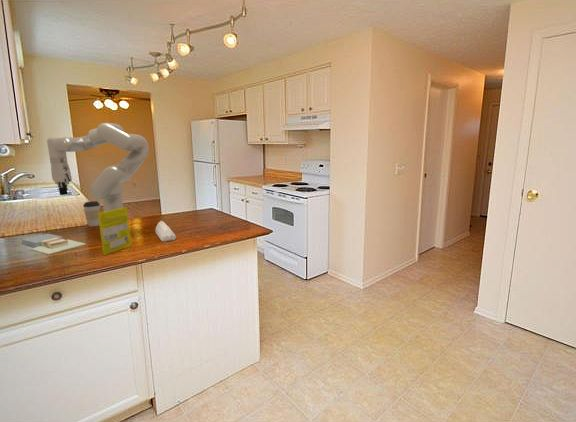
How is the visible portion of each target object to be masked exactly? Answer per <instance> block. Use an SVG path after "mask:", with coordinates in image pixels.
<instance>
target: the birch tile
mask: <svg viewBox="0 0 576 422" xmlns="http://www.w3.org/2000/svg"><path fill="white" fill-rule="evenodd" d="M41 245H42V246H44V247H47V248H51V249H54V248H58V247H62V246H66V245H68V239H64V238H63V239H61V238H52V239H48V240H44V241H41Z"/></svg>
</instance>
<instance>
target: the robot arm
mask: <svg viewBox="0 0 576 422" xmlns="http://www.w3.org/2000/svg"><path fill="white" fill-rule="evenodd" d="M46 142H47V143H46V144H47V148H48V149H47V150H48V151H47V152H48V157H49V161H50V162H49V163H50V171H51V179H52V181H53V182H54V183H55V184H56V185H57V188H58V191H59V195H61V196H65V195H66V196H67V195H68V185H70V182H72V181H73V180H72V179H73V178H72V174H71V169H70V165H69V164H68V157H67V153H72V152H73V153H76V152H84V151H88V150H91V149H94V148H96V147H99V146H101V145H104V144H105V145H106V144H108V143H109V144H111V145H113V146H115V147H117V148H119V149H121V150H123V151H127V152H128V151H130V152H129V153H127V154H126V155H125V156H124V157H123V159H121V161H119V163H118V164H113V165H109V166H107V167H106V168H104V169H103V170H102V172H100V174H99V175H98V177H96V179H95V180H94V182H93V183H92V185H91V187H90V193H91V195H92V196H93V197H95V198H97V199H101V200H103V201H102V207H103V212H105V211H110V210H115V209H119V208H124V203H123V195H124V193H123V191H124V188H123V184H122V183H125V182H128V181H129V180H130V179H131V178H132V177H133V175H134V174H135V173H136V172H137V171H138V169H139V168H140V167H141V165H142V164H143V163H144V162H145V160H146V159H147V158H148V156H149V152H150V146H149V143H148V141H147V139H146V138H145V137H144V136H142V135H141V134H135V133H127V132H125V130H124V128H123V126H121V125H119V124H118V123H112V122H102V123H100V124H99V125H98V126H97V127H96V128H93V129H90V130H89V131H88V134H87V135H83V136H78V137H72V136H70V137H67V136H65V137H48V138H47V139H46Z"/></svg>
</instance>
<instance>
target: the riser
mask: <svg viewBox="0 0 576 422" xmlns="http://www.w3.org/2000/svg"><path fill="white" fill-rule="evenodd" d="M52 238H61V239H64V238H63V236H60V235H56V234H52V233H44V234H40V235H35V236H30V237H26V238H22V239H21V244H22V245H25V246H29V247H32V248H35V247H39V246H42V245H41V241H44V240H48V239H52Z"/></svg>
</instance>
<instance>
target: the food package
mask: <svg viewBox="0 0 576 422" xmlns="http://www.w3.org/2000/svg"><path fill="white" fill-rule="evenodd" d="M98 218H99V225H98V226H99V230H100V231H99V232H100V241H101V247H102V249H101V250H102V255H103V256H107V255H109V254H111V253H114V252H117V251H120V250H124V249H126V248H129V247H131V246H132V243H131V232H130V225H129V213H128V206H123V208H119V209H115V210H110V211H105V212H104V211H100V213H98Z"/></svg>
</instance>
